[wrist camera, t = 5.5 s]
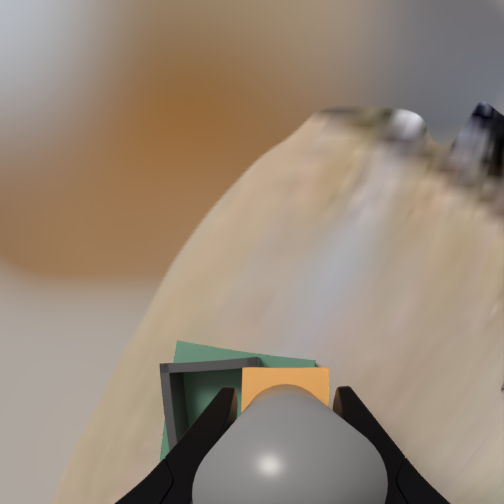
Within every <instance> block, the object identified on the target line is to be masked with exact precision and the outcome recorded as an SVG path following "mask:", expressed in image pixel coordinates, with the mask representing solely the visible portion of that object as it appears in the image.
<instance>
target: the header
mask: <svg viewBox="0 0 504 504" xmlns="http://www.w3.org/2000/svg"><path fill="white" fill-rule="evenodd" d="M246 367H261V365H260V358H259V357H249V358H239V359H228V360H216V361H203V362H187V363H165V364H160V375H161V386H162V396H163V405H164V414H165V422H166V430H167V438H168V445H169V451H170V450H171V449H172V448H173V447H174V446H175V444H176V443H177V442H178V441H179V440H180V439H181V437H182V436H183V435H184V434H185V433H186V431H187V430H188V429H189V423H188V415H187V406H186V397H185V388H184V377H183V372H194V371H211V370H224V369H236V368H246Z"/></svg>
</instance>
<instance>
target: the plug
mask: <svg viewBox="0 0 504 504" xmlns="http://www.w3.org/2000/svg"><path fill="white" fill-rule="evenodd" d="M328 397H329V368H326V367H304V368H266V367H246V368H243V371H242V403H241V414H240V416H239V417H238V418H237V419H236V421H235V422H234V423H233V424H232V425H231V427H230V428H229V429H228V430H227V431H226V432H225V434H224V435H223V436H222V437H221V438H220V439H219V441H218V442H217V443H216V444H215V445H214V446H213V447H212V449H211V450H210V451H209V452H208V453H207V455H206V456H205V457H204V459H203V460H202V462H201V464H200V465H199V468H198V470H197V472H196V475H195V478H194V482H193V490H192V499H193V504H385V500H386V496H387V487H388V480H387V472H386V468H385V465H384V462H383V460H382V458H381V456H380V454H379V452H378V451H377V449H376V448H375V447H374V445H373V444H372V443H371V442H370V441H369V440H368V439H367V438H366V437H365V436H363V435H362V434H361V433H360V432H358V431H357V430H356V429H355V428H353V427H352V426H351V425H350V424H348V423H347V422H346V421H345V420H343V419H342V418H341V417H340V416H338V415H337V414H336V413H335V412H334V411H332V410H331V409H330V408H329V407H328Z"/></svg>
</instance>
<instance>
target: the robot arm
mask: <svg viewBox="0 0 504 504" xmlns="http://www.w3.org/2000/svg"><path fill="white" fill-rule="evenodd" d="M237 409H238V402H237V393H236V388H235V387H227V386H224V387H222V388H221V389H220V391H219V392H218V393H217V394H216V396H215V397H214V398H213V399H212V401H211V402H210V403H209V404H208V406H207V407H206V408H205V409H204V411H203V412H202V413H201V414H200V416H199V417H198V418H197V419H196V420H195V422H194V423H193V424H192V425H191V427H190V428H189V429H188V430H187V431H186V433H185V434H184V435H183V436H182V437H181V439H180V440H179V441H178V442H177V443H176V444H175V446H174V447H173V448H172V449H171V450H170V451H169V453H168V454H167V455H166V456H165V459H162V461H161V462H160V463H159V464H158V465H157V466H156V467H155V468H154V470H153V471H152V472H151V473H150V474H149V475H148V476H147V477H146V478H145V479H143V480H142V481H141V482H140V483H139V484H138V485H137V486H136V487H134V488H133V489H132V490H131V491H130V492H128V493H127V494H126V495H125V496H124V497H122V498H121V499H120V500H119V501H117V502H116V503H115V504H193V499H192V490H193V482H194V478H195V475H196V472H197V470H198V468H199V465H200V464H201V462H202V460H203V459H204V457H205V456H206V455H207V453H208V452H209V451H210V450H211V449H212V447H213V446H214V445H215V444H216V443H217V442H218V441H219V439H220V438H221V437H222V436H223V435H224V434H225V432H226V431H227V430H228V429H229V428H230V427H231V425H232V424H233V423H234V422H235V421H236V419H237ZM333 411H334V412H335V413H336V414H337V415H338V416H340V417H341V418H342V419H343V420H345V421H346V422H347V423H348V424H350V425H351V426H352V427H353V428H355V429H356V430H357V431H358V432H360V433H361V434H362V435H363V436H365V437H366V438H367V439H368V440H369V441H370V442H371V443H372V444H373V445H374V447H375V448H376V449H377V451H378V452H379V454H380V456H381V458H382V460H383V462H384V465H385V468H386V472H387V480H388V487H387V496H386V500H385V504H450V503H449V502H448V501H447V500H446V499H445V498H444V497H443V496H442V495H441V494H440V493H438V492H437V491H436V490H435V489H434V488H433V487H432V486H431V485H430V484H429V483H428V482H427V481H426V480H425V479H424V478H423V477H422V476H421V475H420V474H419V473H418V471H417V470H416V469H415V468H414V467H413V466H412V464H411V463H410V462H409V460H408V459H407V458H405V456H404V454H403V453H402V452H401V451H400V449H399V448H398V447H397V445H396V444H395V443H394V442H393V440H392V439H391V438H390V437H389V435H388V434H387V433H386V432H385V430H384V429H383V428H382V426H381V425H380V424H379V423H378V421H377V420H376V419H375V418H374V416H373V415H372V414H371V413H370V411H369V410H368V409H367V407H366V406H365V405H364V404H363V402H362V401H361V400H360V399H359V397H358V396H357V395H356V393H355V392H354V391H353V390H352V388H351V387H349V386H341V387H338V388H337V389H336V394H335V398H334V403H333Z"/></svg>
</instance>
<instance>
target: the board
mask: <svg viewBox="0 0 504 504" xmlns="http://www.w3.org/2000/svg"><path fill="white" fill-rule="evenodd" d="M249 357H259V358H260V365H261V367H266V368H304V367H315V362H316V360H305V359H295V358H286V357H278V356H270V355H262V354H255V353H248V352H241V351H234V350H228V349H221V348H215V347H210V346H204V345H198V344H193V343H188V342H182V341H177V345H176V351H175V357H174V363H187V362H203V361H216V360H228V359H239V358H249ZM242 371H243V368H236V369H224V370H211V371H194V372H183V377H184V388H185V397H186V406H187V415H188V423H189V428H190V427H191V425H192V424H193V423H194V422H195V420H196V419H197V418H198V417H199V416H200V414H201V413H202V412H203V411H204V409H205V408H206V407H207V406H208V404H209V403H210V402H211V401H212V399H213V398H214V397H215V396H216V394H217V393H218V392H219V391H220V389H221V388H222V387H224V386H227V387H235V388H236V393H237V402H238V409H237V418H238V417H239V416H240V414H241V403H242ZM168 453H169V445H168V438H167V430H166V422H165V423H164V431H163V439H162V447H161V455H160V462H161V461H162V459H165V456H166V455H167V454H168Z"/></svg>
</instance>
